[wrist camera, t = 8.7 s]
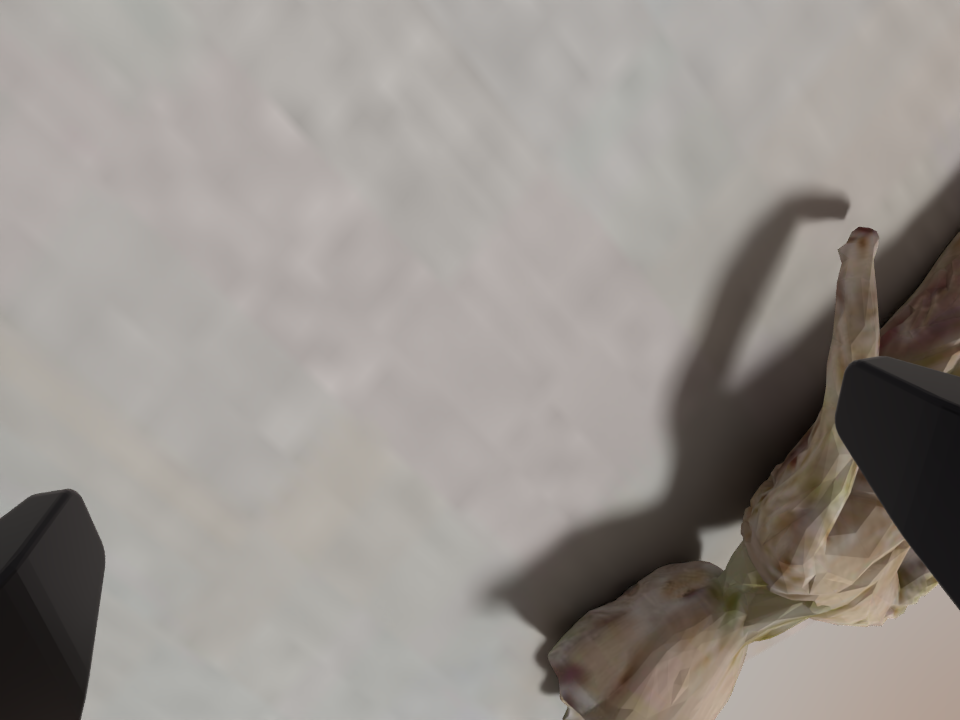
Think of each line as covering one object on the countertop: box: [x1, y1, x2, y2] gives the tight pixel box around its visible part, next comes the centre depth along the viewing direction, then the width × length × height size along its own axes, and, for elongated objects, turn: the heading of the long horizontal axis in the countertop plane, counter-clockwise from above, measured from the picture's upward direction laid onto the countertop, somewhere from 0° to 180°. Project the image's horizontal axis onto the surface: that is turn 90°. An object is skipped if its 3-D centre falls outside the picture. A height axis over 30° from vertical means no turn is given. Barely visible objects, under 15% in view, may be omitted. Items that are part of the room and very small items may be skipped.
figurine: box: [548, 227, 960, 720], centre depth 27 cm, size 17×6×30 cm
